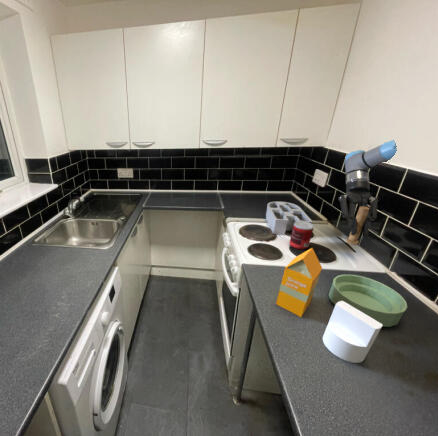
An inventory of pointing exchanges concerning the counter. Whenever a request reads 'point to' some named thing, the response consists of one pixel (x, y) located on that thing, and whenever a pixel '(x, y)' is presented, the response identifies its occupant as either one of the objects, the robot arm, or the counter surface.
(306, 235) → the canned food
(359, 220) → the muddler
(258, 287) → the counter surface
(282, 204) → the grey compartment organizer
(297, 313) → the orange juice
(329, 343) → the base with upright slab
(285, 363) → the counter surface
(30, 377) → the counter surface
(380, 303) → the bowl
